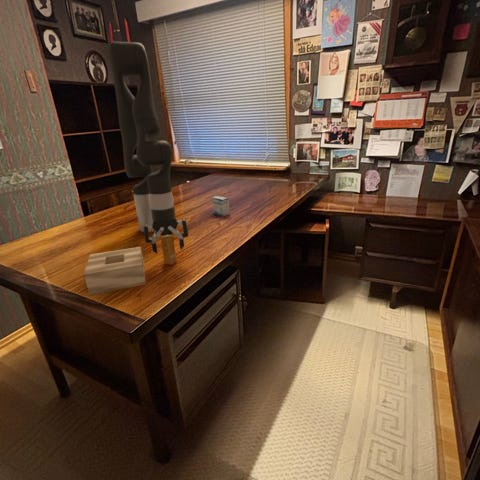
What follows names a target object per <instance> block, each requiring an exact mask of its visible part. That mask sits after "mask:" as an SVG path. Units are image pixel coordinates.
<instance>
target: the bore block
mask: <svg viewBox="0 0 480 480" xmlns="http://www.w3.org/2000/svg"><path fill="white" fill-rule="evenodd" d="M144 262H145V261H144V258H143V252H142V247H141V246H136V247H130V248H123V249H117V250H116V249H115V250H111V251H104V252H98V253H92V254H89V257H88V259H87V262H86V266H85V269H84V272H83V276H84V281H85V284H86V287H87V290H88V294H89V296H92V295H97V294H102V293H108V292H113V291H118V290H123V289H129V288H133V287H137V286H144V285H146V284H147V283H146V270H145V263H144Z"/></svg>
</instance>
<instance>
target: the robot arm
mask: <svg viewBox="0 0 480 480" xmlns="http://www.w3.org/2000/svg"><path fill="white" fill-rule="evenodd" d="M108 58H109V63H110V69H111V70H110V71H111V76H112V79H113V84H114V90H115V91H114V92H115V96H116V105H117V115H118V123H119V129H120V135H121V140H122V150H123V151H122V152H123V164H124V166H123V167H124V171H125V173H126V174H125V175H126V176H127V177H128V178H130V179H134V178H136V179H137V178H143V177H144V179H143V180H142V181H141V182H139V183H137V184H135V185H134V186H132V194H133V199H134V205H135V210H136V215H137V221H138V226H139V227H138V228H139V231H140V233H144V240H145V243H146V244H151V249H152V252H153V253H155V254H156V255H157V254H158V248H157V240H158V239H159V238H160V236H161V237H162V236H165V235H171V236H173V235H175V236H176V237H177V238H178V242H179V243H178V244H179V249H180V250H183V248H185V241H184V239H185V238H188V237H189V231H188V225H187V221H186V219H185V218H181V219H180V220H178V219H177V217H176V207H175V201H174V196H173V193H172V192H173V191H172V185H171V168H172V167H171V166H172V161H173V149H172V145H171V144H170V143H169V142H168V141H166V140H153V141H148V140H151V139H153V138H156V137H158V136H159V135H160V133H161V127H160V123H159V119H158V115H157V112H156V111H157V110H156V107H155V101H154V96H153V95H154V93H153V85H152V79H151V73H150V65H149V58H148V55H147V51H146V49H145V46H144V45H143V44H142V43H141V42H135V41H132V42H131V41H111V42H110V43H109V45H108ZM124 77H139V78H140V79H139V80H140V83H139V87H138V90H137V93H136V94H135V96H134V95H133V94H132V92H131V91H130V89H129V87H128V86H127V84H126V82H125V80H124V79H125V78H124ZM135 150H136V154H134V153H135ZM153 166H160V168H159V169H158V170H157V171H154V172H153ZM178 226H180V227H182V231H183V232H180V231H179V230H178V229H177V227H178ZM149 233H153V235H152V237H150V235H149ZM172 234H173V235H172Z"/></svg>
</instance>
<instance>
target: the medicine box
mask: <svg viewBox="0 0 480 480" xmlns="http://www.w3.org/2000/svg"><path fill="white" fill-rule="evenodd" d="M211 198H212V212H213V214H214V215H216V216H217V215H218V216H222V217H225V216H228V215H230V202H229V201H230V199H229V198H228V197H226V196H225V197H224V196H221V195H220V196H219V195H215V196H213V197H211Z"/></svg>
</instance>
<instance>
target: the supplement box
mask: <svg viewBox="0 0 480 480" xmlns="http://www.w3.org/2000/svg"><path fill="white" fill-rule="evenodd" d="M160 241H161V248H162V249H161V250H162V255H163V264H165V265H170V266H172V265H174V264H175V263H177V255H176V248H175V242H174V241H175V239H174V235H165V236H162V235H161V237H160Z"/></svg>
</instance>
